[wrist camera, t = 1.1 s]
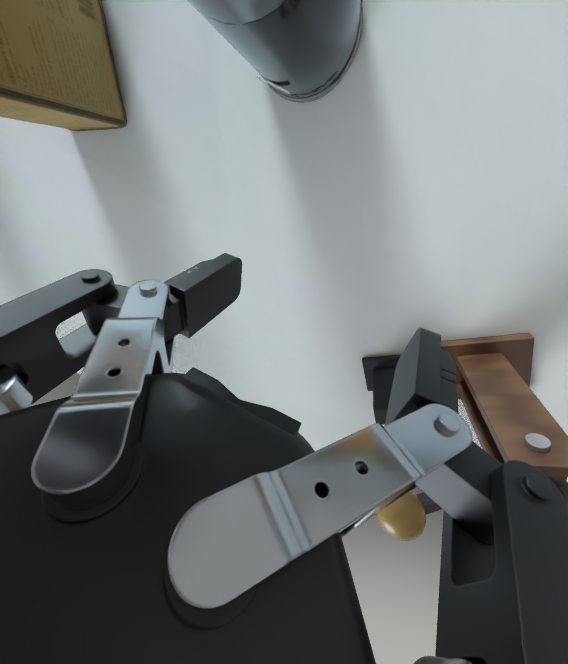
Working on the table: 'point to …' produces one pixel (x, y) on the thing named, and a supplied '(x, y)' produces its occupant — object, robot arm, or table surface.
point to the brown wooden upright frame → (508, 403)
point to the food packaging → (58, 65)
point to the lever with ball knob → (418, 513)
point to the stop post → (380, 382)
